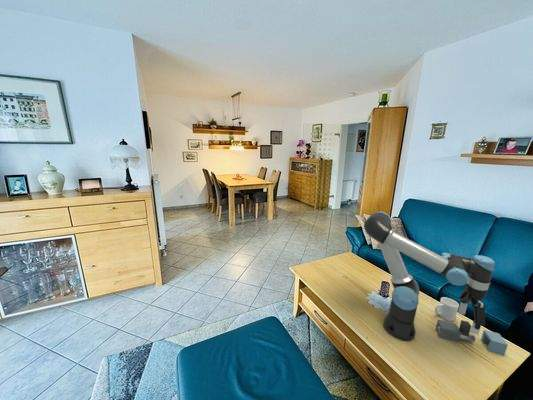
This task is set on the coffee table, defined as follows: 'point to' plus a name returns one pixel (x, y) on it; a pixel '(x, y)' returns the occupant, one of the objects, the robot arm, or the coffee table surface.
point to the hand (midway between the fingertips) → (467, 322)
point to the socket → (494, 342)
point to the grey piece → (463, 331)
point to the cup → (447, 309)
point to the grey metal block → (449, 331)
